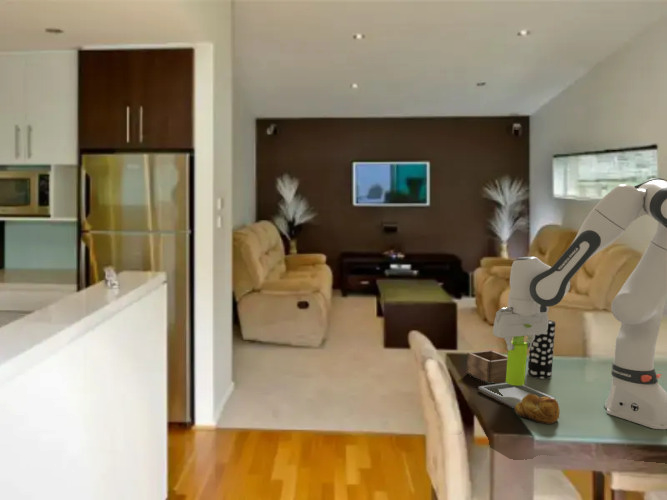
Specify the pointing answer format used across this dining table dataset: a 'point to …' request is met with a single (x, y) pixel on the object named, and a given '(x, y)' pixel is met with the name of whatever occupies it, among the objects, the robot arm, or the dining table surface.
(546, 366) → the white-spotted black cylinder
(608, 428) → the dining table surface
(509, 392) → the grey tray
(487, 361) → the walnut box
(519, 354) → the soap dispenser
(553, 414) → the bread roll
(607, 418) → the dining table surface
